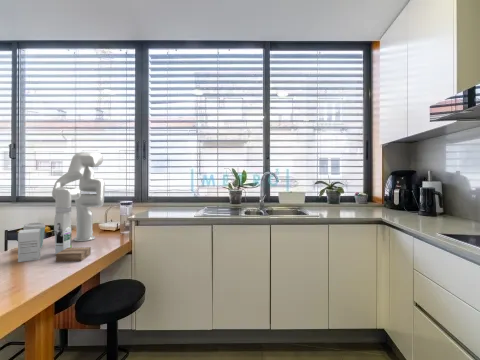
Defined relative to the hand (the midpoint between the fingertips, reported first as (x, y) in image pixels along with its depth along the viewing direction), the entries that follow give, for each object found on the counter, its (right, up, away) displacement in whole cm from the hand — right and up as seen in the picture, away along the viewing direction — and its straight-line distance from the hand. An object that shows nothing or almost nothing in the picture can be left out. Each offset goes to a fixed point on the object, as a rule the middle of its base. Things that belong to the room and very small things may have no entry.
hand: (63, 241), depth 152 cm
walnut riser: (+11, -7, -8) cm, 16 cm away
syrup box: (0, -7, 0) cm, 7 cm away
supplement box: (-11, -7, -11) cm, 17 cm away
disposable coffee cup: (-22, -7, +8) cm, 25 cm away
